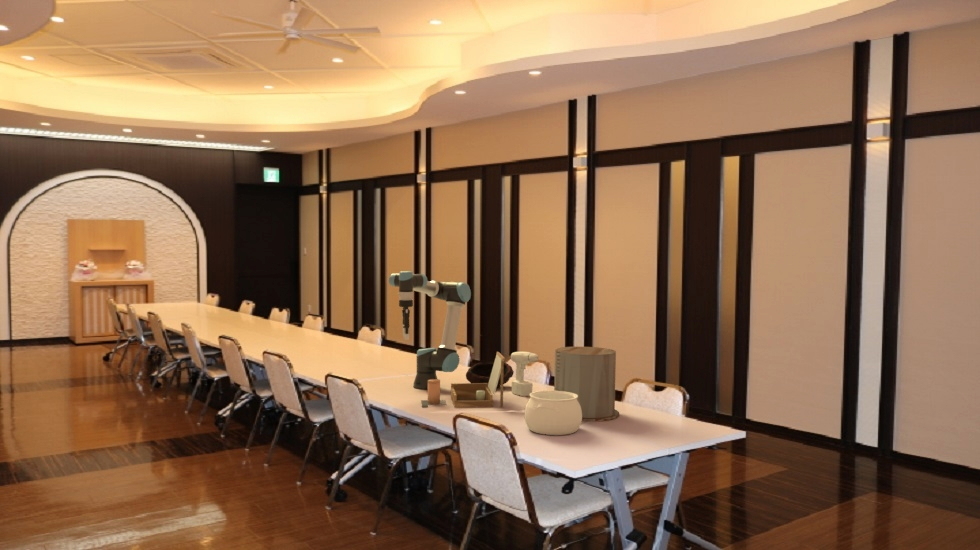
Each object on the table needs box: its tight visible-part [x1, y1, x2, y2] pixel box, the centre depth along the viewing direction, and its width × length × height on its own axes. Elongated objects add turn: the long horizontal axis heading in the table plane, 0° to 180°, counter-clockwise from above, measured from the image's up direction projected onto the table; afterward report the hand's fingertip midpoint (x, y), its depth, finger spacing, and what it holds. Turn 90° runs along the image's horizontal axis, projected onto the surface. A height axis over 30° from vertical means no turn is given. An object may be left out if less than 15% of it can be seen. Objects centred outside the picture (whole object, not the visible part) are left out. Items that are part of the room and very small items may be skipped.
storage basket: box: [553, 346, 620, 423], centre depth 377 cm, size 35×35×32 cm
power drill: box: [510, 351, 540, 397], centre depth 424 cm, size 8×24×25 cm, turn 31°
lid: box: [488, 351, 506, 395], centre depth 399 cm, size 23×20×1 cm
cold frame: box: [450, 359, 505, 409], centre depth 396 cm, size 26×25×26 cm
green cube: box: [476, 390, 485, 401], centre depth 398 cm, size 5×5×6 cm
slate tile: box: [420, 399, 448, 408], centre depth 395 cm, size 13×13×1 cm
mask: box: [465, 361, 514, 388], centre depth 448 cm, size 18×14×30 cm
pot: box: [524, 390, 582, 436], centre depth 343 cm, size 29×26×16 cm
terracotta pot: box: [427, 378, 441, 404], centre depth 395 cm, size 7×7×12 cm
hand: (405, 338), depth 407 cm, fingers open, 13 cm apart
